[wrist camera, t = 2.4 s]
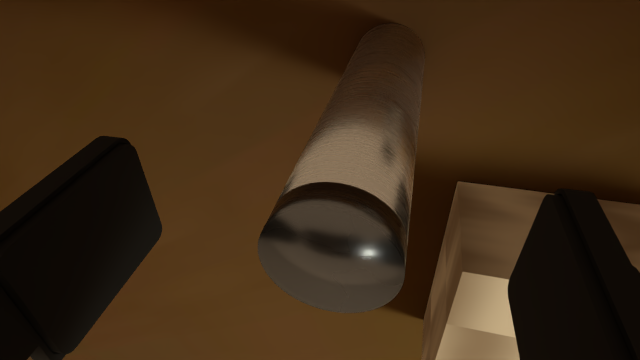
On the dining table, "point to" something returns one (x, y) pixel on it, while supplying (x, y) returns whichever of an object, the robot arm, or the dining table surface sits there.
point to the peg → (353, 184)
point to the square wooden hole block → (492, 269)
